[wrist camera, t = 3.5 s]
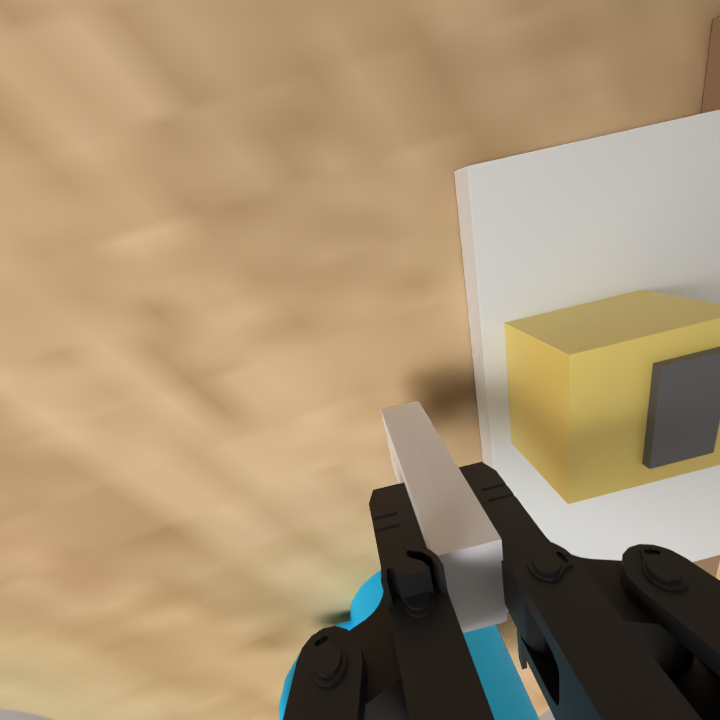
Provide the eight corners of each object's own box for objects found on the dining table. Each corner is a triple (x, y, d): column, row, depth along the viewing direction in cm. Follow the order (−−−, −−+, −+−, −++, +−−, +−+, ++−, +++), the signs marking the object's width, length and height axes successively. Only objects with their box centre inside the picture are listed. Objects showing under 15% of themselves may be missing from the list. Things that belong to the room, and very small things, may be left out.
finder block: (504, 322, 14) (576, 358, 10) (641, 289, 15) (764, 311, 11) (511, 443, 17) (573, 510, 13) (631, 412, 17) (729, 469, 13)
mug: (485, 549, 21) (583, 734, 13) (472, 640, 24) (547, 836, 16) (278, 574, 19) (253, 794, 12) (291, 667, 22) (278, 892, 15)
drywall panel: (444, 77, 12) (457, 61, 11) (892, -20, 13) (946, -43, 12) (498, 623, 23) (508, 643, 22) (740, 558, 24) (761, 574, 23)
